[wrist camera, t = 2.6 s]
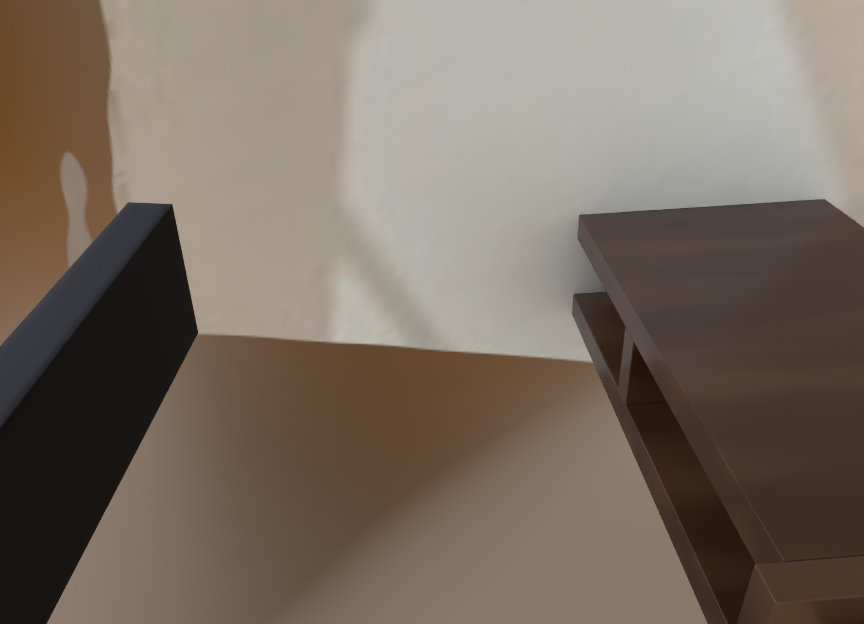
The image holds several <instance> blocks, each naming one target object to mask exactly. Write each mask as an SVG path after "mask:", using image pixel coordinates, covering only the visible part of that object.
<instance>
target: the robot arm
mask: <svg viewBox="0 0 864 624" xmlns="http://www.w3.org/2000/svg"><path fill="white" fill-rule="evenodd" d="M197 334H198V330H197V325H196V320H195V315H194V310H193V305H192V300H191V295H190V290H189V285H188V280H187V275H186V270H185V265H184V260H183V255H182V250H181V245H180V240H179V235H178V230H177V226H176V221H175V216H174V211H173V206H172V204H152V203H127V205H126V206H125V207H124V208H123V209H122V210H121V211H120V212H119V213H118V215H117V216H116V217H115V218H114V219H113V220H112V222H111V223H110V224H109V225H108V226H107V227H106V228H105V229H104V230H103V231H102V233H101V234H100V235H99V236H98V237H97V238H96V239H95V240H94V242H93V243H92V244H91V245H90V246H89V247H88V248H87V249H86V251H85V252H84V253H83V254H82V255H81V256H80V257H79V258H78V260H77V261H76V262H75V263H74V264H73V265H72V266H71V267H70V269H69V270H68V271H67V272H66V273H65V274H64V275H63V276H62V278H61V279H60V280H59V281H58V282H57V283H56V284H55V285H54V287H53V288H52V289H51V290H50V291H49V292H48V293H47V294H46V296H45V297H44V298H43V299H42V300H41V301H40V302H39V303H38V304H37V306H36V307H35V308H34V309H33V310H32V312H30V313H29V315H28V316H27V317H26V318H25V319H24V320H23V321H22V322H21V324H20V325H19V326H18V327H17V328H16V329H15V330H14V331H13V333H12V334H11V335H10V336H9V337H8V338H7V339H6V340H5V342H4V343H3V344H2V345H1V346H0V624H47V622H48V620H49V618H50V616H51V614H52V612H53V610H54V608H55V606H56V604H57V603H58V601H59V599H60V597H61V595H62V593H63V591H64V589H65V587H66V585H67V583H68V581H69V580H70V577H71V576H72V574H73V572H74V570H75V568H76V566H77V564H78V562H79V560H80V558H81V556H82V554H83V553H84V551H85V549H86V547H87V545H88V543H89V541H90V539H91V537H92V535H93V533H94V532H95V530H96V528H97V526H98V524H99V522H100V520H101V518H102V516H103V514H104V512H105V510H106V508H107V507H108V505H109V503H110V501H111V499H112V497H113V495H114V493H115V491H116V489H117V487H118V485H119V483H120V482H121V480H122V478H123V476H124V474H125V472H126V470H127V468H128V466H129V464H130V462H131V460H132V459H133V456H134V454H135V453H136V451H137V449H138V447H139V445H140V443H141V441H142V439H143V437H144V435H145V433H146V432H147V430H148V428H149V426H150V424H151V422H152V420H153V418H154V416H155V414H156V412H157V411H158V409H159V407H160V405H161V403H162V401H163V399H164V397H165V395H166V393H167V391H168V389H169V387H170V385H171V384H172V382H173V380H174V378H175V376H176V374H177V372H178V370H179V368H180V366H181V364H182V363H183V361H184V359H185V357H186V355H187V352H188V351H189V349H190V347H191V345H192V343H193V341H194V339H195V338H196V336H197Z"/></svg>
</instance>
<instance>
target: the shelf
mask: <svg viewBox="0 0 864 624" xmlns="http://www.w3.org/2000/svg"><path fill="white" fill-rule="evenodd" d="M578 240H579V242H580V244H581V246H582V247H583V249H584V251H585V253H586V255H587V257H588V258H589V260H590V262H591V264H592V266H593V268H594V269H595V271H596V273H597V275H598V277H599V279H600V280H601V282H602V284H603V286H604V288H605V290H606V291H607V292H600V293H585V294H574V298H573V312H572V315H573V317H574V319H575V322H576V324H577V326H578V329H579V331H580V333H581V335H582V338H583V340H584V342H585V345H586V347H587V349H588V351H589V354H590V356H591V358H592V361H593V363H594V365H595V367H596V370H597V372H598V374H599V377H600V379H601V381H602V383H603V386H604V388H605V390H606V392H607V395H608V397H609V399H610V401H611V403H612V406H613V408H614V411H615V413H616V415H617V417H618V420H619V422H620V424H621V427H622V429H623V431H624V434H625V436H626V438H627V440H628V442H629V445H630V447H631V450H632V452H633V454H634V456H635V459H636V461H637V463H638V466H639V468H640V470H641V472H642V475H643V477H644V479H645V481H646V484H647V486H648V488H649V490H650V493H651V495H652V497H653V500H654V502H655V504H656V506H657V509H658V511H659V513H660V516H661V518H662V520H663V523H664V525H665V527H666V529H667V532H668V534H669V536H670V539H671V541H672V543H673V545H674V548H675V550H676V552H677V554H678V557H679V559H680V561H681V564H682V566H683V568H684V570H685V573H686V575H687V577H688V580H689V582H690V584H691V586H692V589H693V591H694V593H695V596H696V598H697V600H698V602H699V605H700V607H701V609H702V612H703V614H704V616H705V618H706V621H707V623H708V624H864V227H862V226H861V225H860V224H858V223H857V222H855V221H854V220H853V219H851V218H850V217H849V216H847V215H846V214H844V213H843V212H842V211H840V210H839V209H837V208H836V207H835V206H833V205H832V204H830V203H829V202H828V201H826V200H825V199H823V200H808V201H792V202H777V203H761V204H746V205H730V206H715V207H699V208H684V209H668V210H653V211H637V212H622V213H606V214H591V215H580V216H579V228H578Z"/></svg>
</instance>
